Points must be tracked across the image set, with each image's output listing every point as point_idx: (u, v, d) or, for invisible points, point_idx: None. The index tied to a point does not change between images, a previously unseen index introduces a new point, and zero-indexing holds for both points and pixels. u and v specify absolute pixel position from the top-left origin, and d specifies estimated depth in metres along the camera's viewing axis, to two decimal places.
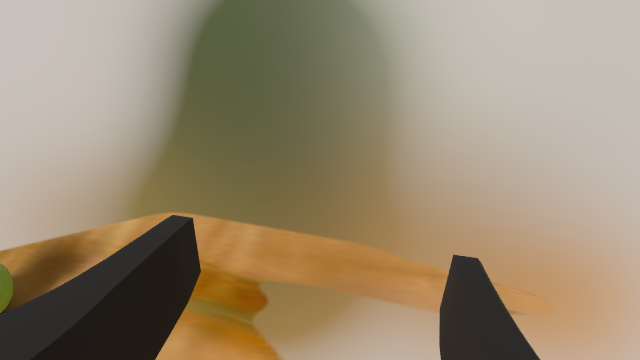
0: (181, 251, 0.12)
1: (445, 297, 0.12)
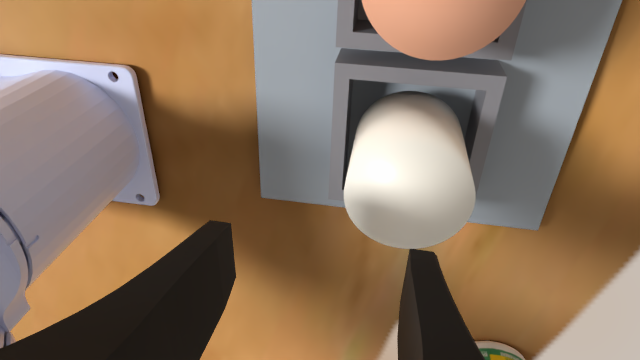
0: (220, 257, 0.12)
1: (403, 291, 0.12)
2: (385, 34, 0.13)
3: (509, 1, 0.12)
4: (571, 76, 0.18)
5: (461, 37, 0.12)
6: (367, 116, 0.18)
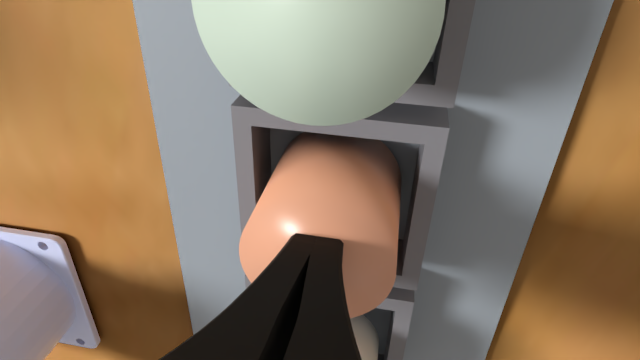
0: None
1: None
2: None
3: (377, 287, 0.13)
4: (488, 283, 0.18)
5: None
6: None
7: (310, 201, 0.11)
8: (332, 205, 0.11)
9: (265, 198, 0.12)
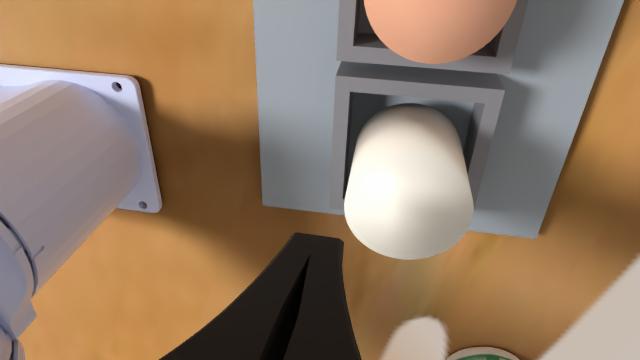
0: None
1: None
2: (386, 40, 0.14)
3: (498, 11, 0.13)
4: (568, 88, 0.19)
5: (455, 43, 0.14)
6: (367, 128, 0.18)
7: None
8: None
9: None
